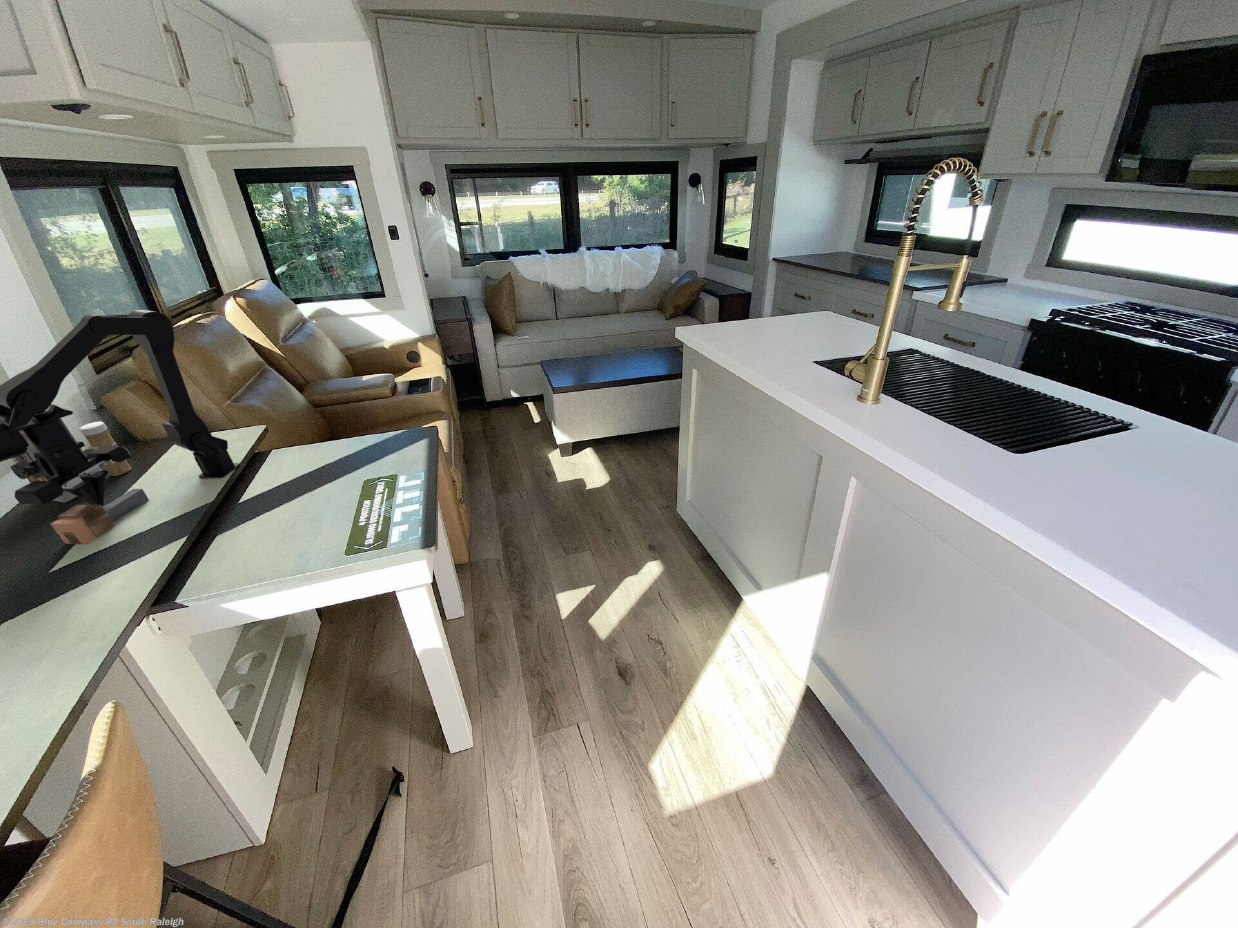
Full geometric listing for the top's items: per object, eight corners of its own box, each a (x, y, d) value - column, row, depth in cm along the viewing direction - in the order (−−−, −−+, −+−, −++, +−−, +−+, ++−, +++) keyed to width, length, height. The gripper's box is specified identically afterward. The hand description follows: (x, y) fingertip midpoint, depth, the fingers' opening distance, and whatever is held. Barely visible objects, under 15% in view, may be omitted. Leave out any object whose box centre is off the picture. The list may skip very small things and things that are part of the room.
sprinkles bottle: (130, 472, 132) (101, 425, 125) (108, 478, 130) (76, 430, 123) (133, 465, 135) (104, 419, 128) (111, 471, 133) (80, 424, 126)
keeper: (91, 525, 111) (76, 504, 109) (115, 525, 111) (101, 504, 108) (72, 536, 108) (57, 516, 105) (97, 536, 107) (82, 516, 105)
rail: (139, 499, 120) (132, 488, 118) (149, 499, 120) (142, 488, 118) (70, 543, 106) (62, 531, 105) (81, 543, 106) (72, 532, 104)
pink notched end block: (74, 537, 108) (60, 518, 105) (96, 537, 107) (82, 518, 105) (65, 543, 106) (50, 524, 104) (86, 543, 106) (72, 524, 103)
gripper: (66, 422, 111) (107, 483, 119) (-35, 467, 95) (19, 534, 103) (112, 421, 110) (150, 483, 118) (17, 467, 94) (68, 534, 102)
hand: (99, 506), depth 110 cm, fingers closed
